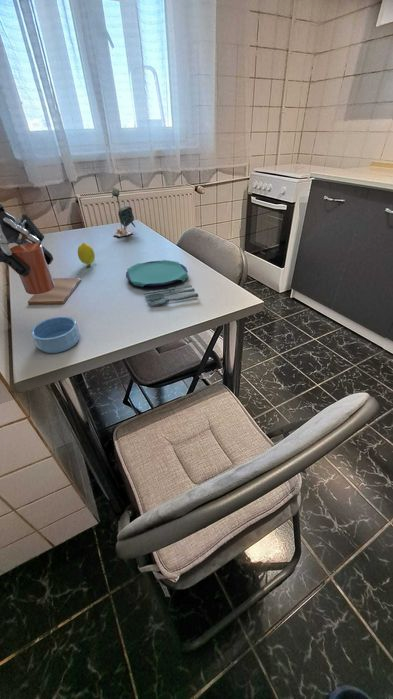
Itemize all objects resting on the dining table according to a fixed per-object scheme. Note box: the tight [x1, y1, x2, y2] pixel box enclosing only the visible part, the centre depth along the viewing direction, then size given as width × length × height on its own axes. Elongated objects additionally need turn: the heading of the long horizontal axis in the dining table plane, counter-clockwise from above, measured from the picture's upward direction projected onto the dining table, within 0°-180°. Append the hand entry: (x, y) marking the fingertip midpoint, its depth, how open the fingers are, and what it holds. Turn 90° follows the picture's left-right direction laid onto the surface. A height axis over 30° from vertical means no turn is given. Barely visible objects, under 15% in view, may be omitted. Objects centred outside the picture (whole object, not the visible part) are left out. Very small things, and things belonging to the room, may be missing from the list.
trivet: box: [27, 277, 82, 306], centre depth 89 cm, size 16×10×1 cm, turn 0°
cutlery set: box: [125, 259, 199, 307], centre depth 92 cm, size 20×30×2 cm, turn 17°
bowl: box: [30, 316, 81, 354], centre depth 67 cm, size 9×10×4 cm
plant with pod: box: [111, 186, 136, 237], centre depth 131 cm, size 8×11×20 cm
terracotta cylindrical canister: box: [9, 242, 55, 295], centre depth 59 cm, size 6×6×8 cm
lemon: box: [77, 242, 96, 266], centre depth 104 cm, size 6×6×8 cm
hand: (39, 267), depth 58 cm, fingers closed on terracotta cylindrical canister, 5 cm apart
